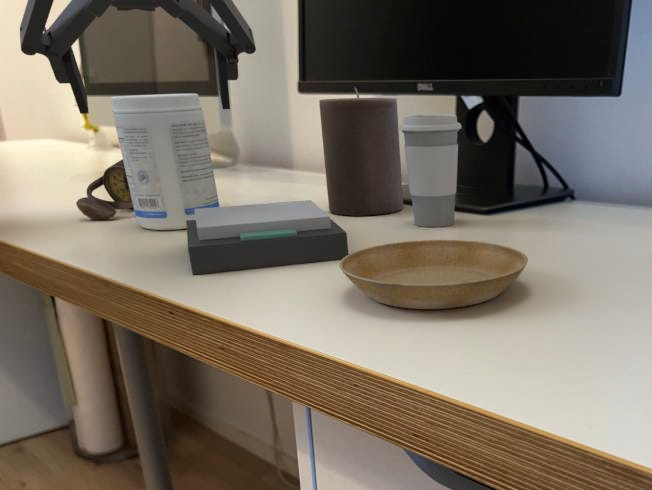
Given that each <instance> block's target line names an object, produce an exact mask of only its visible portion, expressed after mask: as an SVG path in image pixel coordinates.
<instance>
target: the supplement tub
mask: <svg viewBox="0 0 652 490" xmlns="http://www.w3.org/2000/svg"><path fill="white" fill-rule="evenodd" d="M110 100H111V105H112V109H111V110H112V113H113V121H114V126H115V130H116V135H117V138H118V144H119V148H120V153H121V157H122V159H123V162H124V167H125V171H126V175H127V180H128V185H129V189H130V193H131V198H132V203H133V207H134V210H133V211H134V216H135V220H136V223H137V225H139V226H140V227H141V228H143V229H148V230H154V231H175V230H176V231H177V230H187V226H186V221H187V220H196V217H195V210H194V209H200V208H213V207H220V201H219V196H218V190H217V184H216V177H215V173H214V166H213V161H212V155H211V149H210V144H209V138H208V132H207V126H206V121H205V116H204V111H203V107H202V105H201V101H200V96H199V94H198V93H163V94H159V93H158V94H137V95H135V94H134V95H118V96H111V98H110Z"/></svg>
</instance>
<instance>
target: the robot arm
mask: <svg viewBox="0 0 652 490" xmlns="http://www.w3.org/2000/svg"><path fill="white" fill-rule="evenodd" d="M54 1H55V0H27V2H26V6H25V8H24V12H23V16H22V19H21V22H20V26H19V43H20V51H21V52H22V53H23V54H24V55H26V56H35V55H36V54H39V55H41V56H44V57H46V58H47V60H48V62H49V65H50V67H51V70H52V73H53V75H54V78H55V80H56V81H57V83H59V84H60V85H61V84H69V85H70V88H71V91H72V93H73V96H74V100H75V102H76V106H77V108H78V111H79V114H80V115H82V114H83V115H84V114H85V115H87V114H89V102H88V94H87V89H86V87H85V83H84V81H83V77H82V75H81V72H80V69H79V65H78V62H77V59H76V56H75V54H74V50H73V47H72V46H73V45H74V44H75V43H76V41H77V40H78V39H79V38H80V37H81V36H82V34H83V33H84V32H85V31H86V30H87V29H88V28H89V27H90V25H91V24H93V21H94V20H95V19H96V18H98V19H99V18H101V17H102V16H103V15H104V14H105V12H106V11H107V10H108V9H109V7H113V8H115V9H116V10H117V11H118V12H119V11H121V12H122V11H123V12H128V11H132V10H140V11H145V12H156V9H158V8H160V9H162V10H163V11H165V12H166V13H167V14H168V15H170V16H171V17H172V18H173V19H179V21H181V22H182V23H183V24H185V25H186V26H187V27H188V28H190V29H191V31H193V32H194V33H195V34H196V35H198V36H199V37H200V38H202V39H203V40H204V41H205V42H206V43H208V44H209V45H210V46H211V47H213V48H214V53H215V63H216V64H215V65H216V73H217V83H218V92H219V97H220V101H221V102H220V103H221V107H222V110H231V105H230V93H229V92H230V91H229V81H237V80H238V79H239V65H238V64H239V55H240V54H243V53H245V54H247V55H253V54H254V53H256V52H257V47H256V42H255V37H254V34H253V29H252V28H251V27H250V25H249V24H248V22H247V20H246V19H245V18H244V16H243V15H242V13H241V12H240V10H239V9H238V7H237V6H236V4H235V2H234V1H233V0H207V1H208V3H209V4H210V5H211V7H213V8H212V9H214V11H215V12H216V14H217V15H218V17H219V18H220V19H221V21H222V22H223V24H224V25H223V24H222V23H220V22H219V21H218V20H217V19H216V18H215V17H214V16H212V15H211V13H209V12H208V11H207V10H206V9H204V8H203V7H202V6H201V5H200V4H199V3H198V2H196V1H195V0H70V2H69V3H68V4H67V5H66V7H65V8H64V9H63V10H62V11H61V12H60V14H59V15H58V16H57V17H56V19H55V20H54V21H53V23H52V24H51V25H50V26H49V28H47V27H46V25H47V22H48V19H49V16H50V13H51V9H52V7H53V4H54Z"/></svg>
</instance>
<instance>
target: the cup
mask: <svg viewBox="0 0 652 490" xmlns="http://www.w3.org/2000/svg"><path fill="white" fill-rule="evenodd" d="M398 129H399V131H401V132H402V133H403V138H404V144H403V146H404V147H403V148H404V156H405V164H406V172H407V179H408V187H409V195H410V196H411V203H412V210H413V211H412V212H413V218H414V219H413V220H414V225H416V226H418V227H423V228H438V227H440V228H441V227H447V226H452V225H454V223H455V206H456V205H455V204H456V194H457V185H458V162H459V161H458V159H459V142H458V132H459V131H460V130H462V129H463V128H462V124H461V122H458V117H457V114H447V113H446V114H444V113H442V114H410V115H403V118H402V123H400V125H399V126H398Z"/></svg>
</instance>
